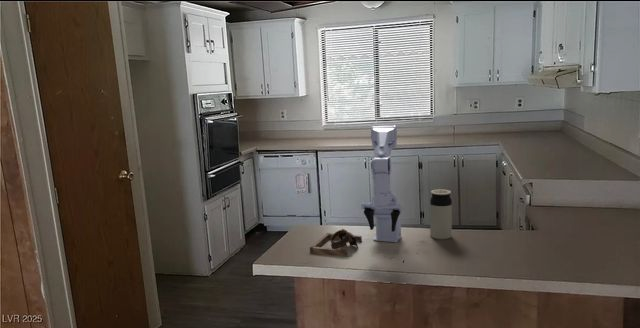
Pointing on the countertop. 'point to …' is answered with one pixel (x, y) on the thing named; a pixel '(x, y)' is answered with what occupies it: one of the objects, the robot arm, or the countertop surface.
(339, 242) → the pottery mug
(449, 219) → the travel mug
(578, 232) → the countertop surface
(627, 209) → the countertop surface
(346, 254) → the bar
